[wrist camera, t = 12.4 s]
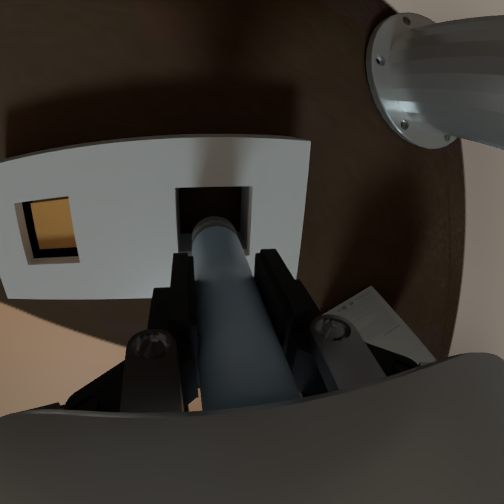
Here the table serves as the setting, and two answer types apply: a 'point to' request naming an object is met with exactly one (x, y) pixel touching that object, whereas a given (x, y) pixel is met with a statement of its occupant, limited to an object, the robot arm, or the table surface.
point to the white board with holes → (145, 208)
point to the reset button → (53, 223)
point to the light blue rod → (234, 326)
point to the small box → (381, 325)
